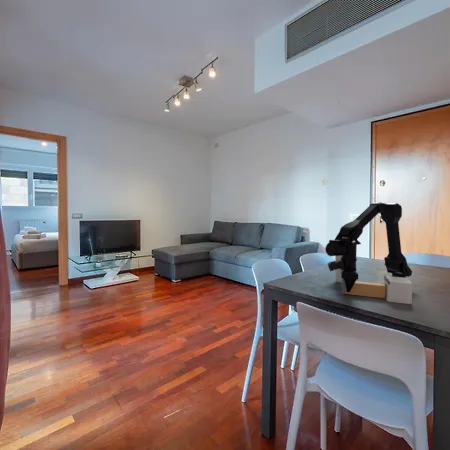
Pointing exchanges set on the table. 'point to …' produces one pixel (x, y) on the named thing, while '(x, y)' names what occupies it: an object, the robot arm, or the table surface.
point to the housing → (398, 289)
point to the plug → (365, 289)
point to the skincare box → (338, 271)
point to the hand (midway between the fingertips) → (348, 290)
